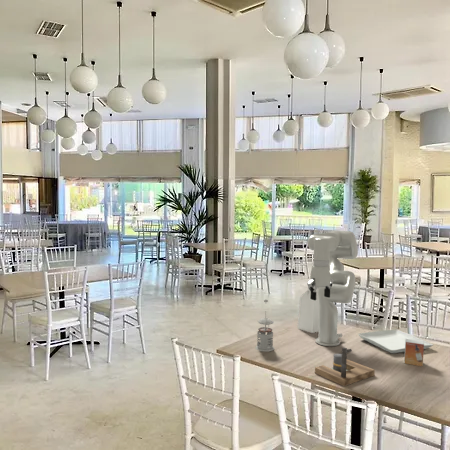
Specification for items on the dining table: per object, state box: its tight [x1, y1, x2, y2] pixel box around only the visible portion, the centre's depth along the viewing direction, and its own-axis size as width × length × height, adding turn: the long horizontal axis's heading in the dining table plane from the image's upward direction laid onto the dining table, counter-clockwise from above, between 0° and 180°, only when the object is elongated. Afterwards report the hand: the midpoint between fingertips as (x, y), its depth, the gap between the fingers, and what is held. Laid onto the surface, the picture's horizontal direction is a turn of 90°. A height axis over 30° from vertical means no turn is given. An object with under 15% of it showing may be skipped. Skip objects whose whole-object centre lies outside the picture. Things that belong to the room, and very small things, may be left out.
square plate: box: [357, 329, 434, 354], centre depth 235 cm, size 27×27×4 cm
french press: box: [255, 299, 275, 352], centre depth 226 cm, size 10×12×25 cm
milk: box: [296, 287, 319, 334], centre depth 259 cm, size 12×12×26 cm
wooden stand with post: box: [314, 347, 376, 387], centre depth 194 cm, size 20×16×14 cm
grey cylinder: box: [332, 353, 342, 373], centre depth 196 cm, size 5×5×7 cm
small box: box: [403, 339, 425, 367], centre depth 208 cm, size 8×6×10 cm
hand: (320, 298), depth 215 cm, fingers open, 9 cm apart
